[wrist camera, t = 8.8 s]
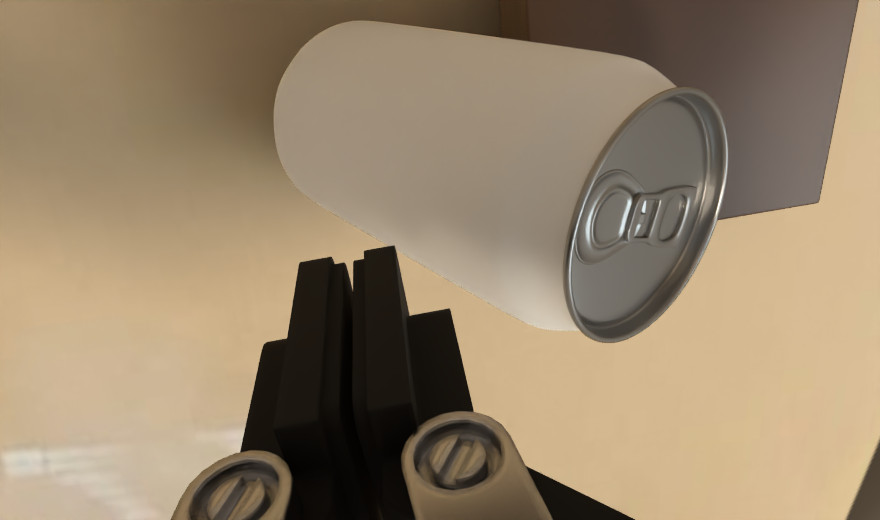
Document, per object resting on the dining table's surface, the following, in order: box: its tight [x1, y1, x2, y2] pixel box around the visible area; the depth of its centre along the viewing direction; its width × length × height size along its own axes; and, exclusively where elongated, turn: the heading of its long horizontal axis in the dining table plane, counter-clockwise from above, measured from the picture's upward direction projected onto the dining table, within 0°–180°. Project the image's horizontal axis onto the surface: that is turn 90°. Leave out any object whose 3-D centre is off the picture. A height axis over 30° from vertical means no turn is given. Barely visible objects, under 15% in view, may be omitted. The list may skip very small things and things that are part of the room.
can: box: [274, 21, 729, 343], centre depth 17 cm, size 6×6×12 cm
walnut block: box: [499, 0, 859, 220], centre depth 21 cm, size 10×10×4 cm
